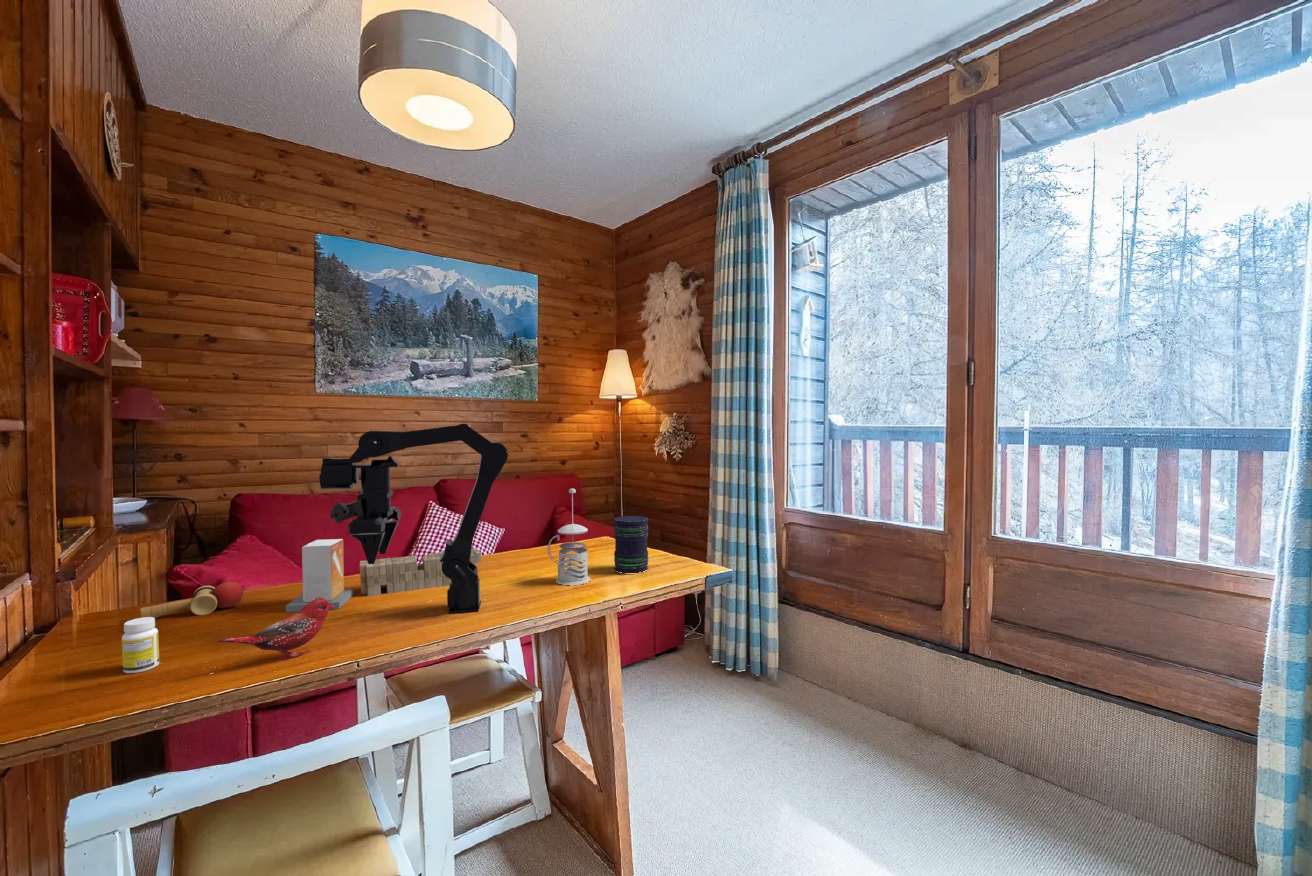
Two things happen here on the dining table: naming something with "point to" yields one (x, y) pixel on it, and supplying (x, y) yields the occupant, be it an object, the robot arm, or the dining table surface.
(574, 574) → the french press
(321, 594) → the small box
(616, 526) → the storage jar
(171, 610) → the kendama
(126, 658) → the supplement bottle
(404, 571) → the block tower
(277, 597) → the dining table surface
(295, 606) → the flat grey square mat
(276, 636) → the decorative bird figurine
